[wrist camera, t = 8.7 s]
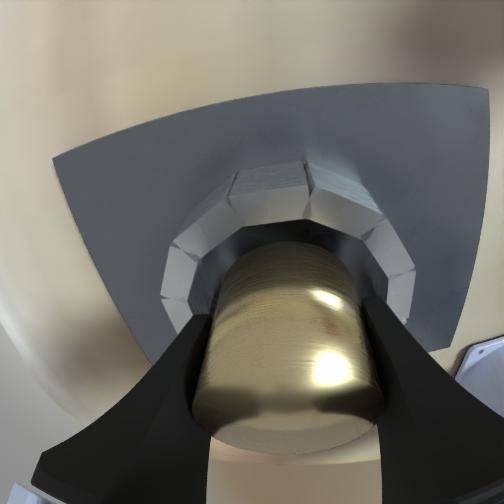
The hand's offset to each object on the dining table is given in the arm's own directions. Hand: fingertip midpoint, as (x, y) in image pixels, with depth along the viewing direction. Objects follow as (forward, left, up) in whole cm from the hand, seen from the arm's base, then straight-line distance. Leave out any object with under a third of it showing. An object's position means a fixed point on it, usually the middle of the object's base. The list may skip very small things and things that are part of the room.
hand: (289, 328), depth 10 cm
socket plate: (0, 0, -4) cm, 4 cm away
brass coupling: (0, 0, -2) cm, 2 cm away
